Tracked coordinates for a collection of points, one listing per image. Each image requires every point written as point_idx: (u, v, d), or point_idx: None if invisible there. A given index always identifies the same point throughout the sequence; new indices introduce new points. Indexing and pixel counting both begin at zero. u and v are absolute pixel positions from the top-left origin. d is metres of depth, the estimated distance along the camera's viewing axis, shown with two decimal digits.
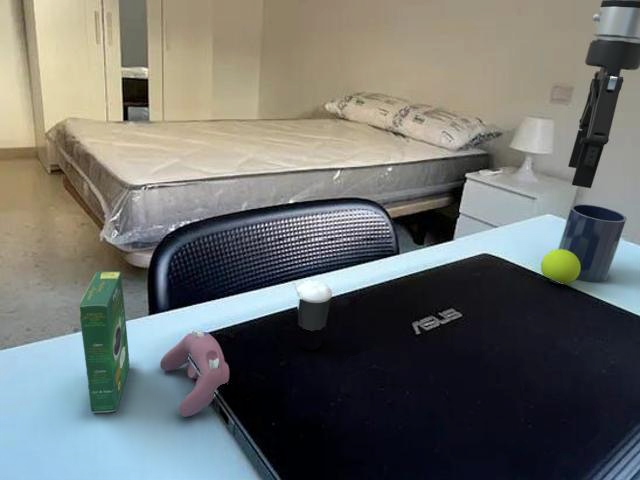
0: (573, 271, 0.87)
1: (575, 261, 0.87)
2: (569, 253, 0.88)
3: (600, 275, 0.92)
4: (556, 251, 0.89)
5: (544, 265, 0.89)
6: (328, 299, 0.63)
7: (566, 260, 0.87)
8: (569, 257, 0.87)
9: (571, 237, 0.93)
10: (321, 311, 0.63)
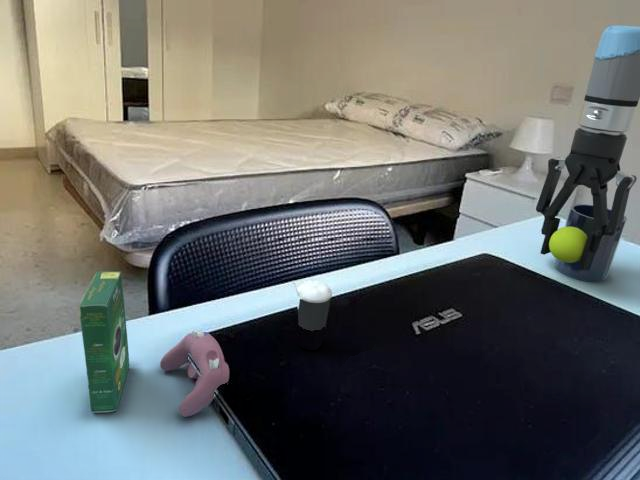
0: (582, 248, 0.85)
1: (584, 238, 0.86)
2: (577, 230, 0.86)
3: (600, 275, 0.92)
4: (564, 228, 0.87)
5: (552, 242, 0.88)
6: (328, 299, 0.63)
7: (575, 236, 0.85)
8: (577, 233, 0.86)
9: None
10: (321, 311, 0.63)
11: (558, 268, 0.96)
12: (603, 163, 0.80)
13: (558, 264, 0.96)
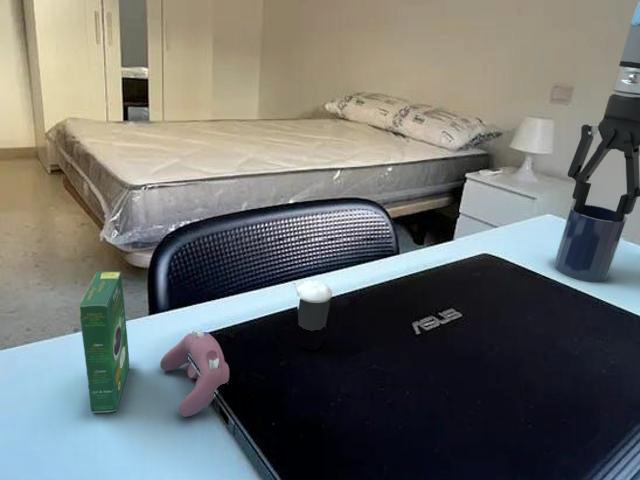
0: None
1: None
2: None
3: (600, 275, 0.92)
4: None
5: None
6: (328, 299, 0.63)
7: None
8: None
9: (571, 237, 0.93)
10: (321, 311, 0.63)
11: (558, 268, 0.96)
12: (636, 127, 0.84)
13: (558, 264, 0.96)
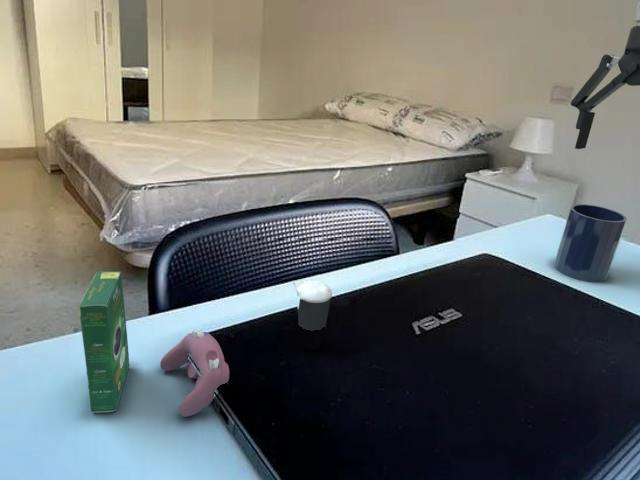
0: None
1: None
2: None
3: (600, 275, 0.92)
4: None
5: None
6: (328, 299, 0.63)
7: None
8: None
9: (571, 237, 0.93)
10: (321, 311, 0.63)
11: (558, 268, 0.96)
12: None
13: (558, 264, 0.96)
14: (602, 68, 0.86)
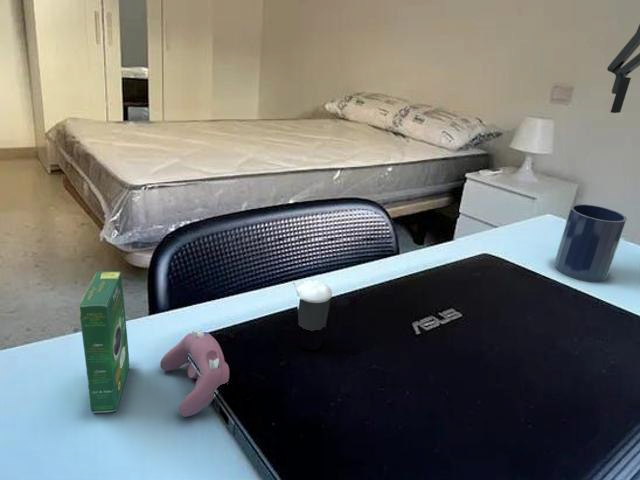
0: None
1: None
2: None
3: (600, 275, 0.92)
4: None
5: None
6: (328, 299, 0.63)
7: None
8: None
9: (571, 237, 0.93)
10: (321, 311, 0.63)
11: (558, 268, 0.96)
12: None
13: (558, 264, 0.96)
14: None
